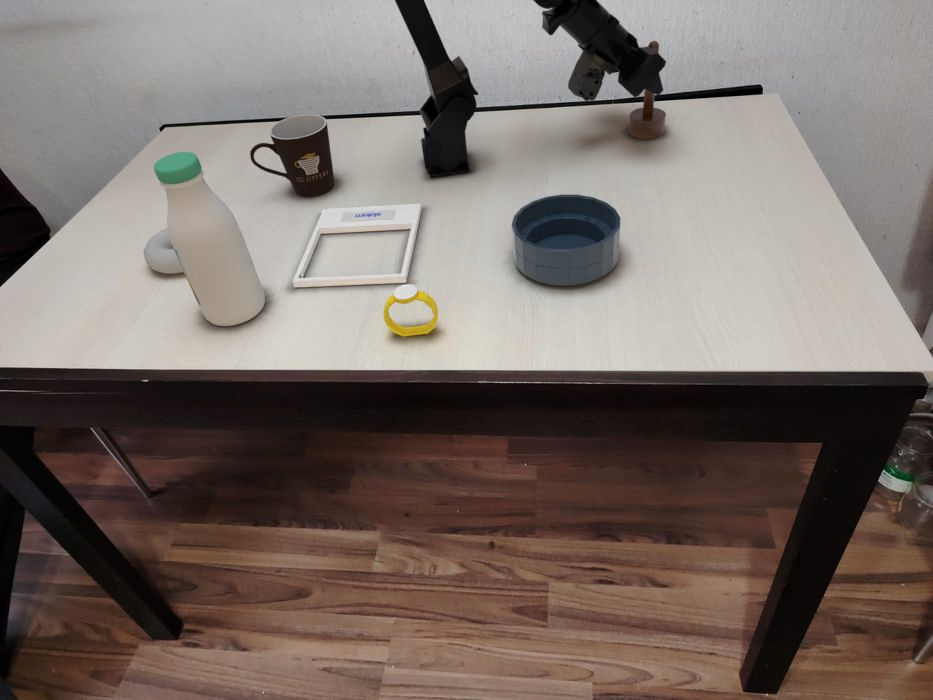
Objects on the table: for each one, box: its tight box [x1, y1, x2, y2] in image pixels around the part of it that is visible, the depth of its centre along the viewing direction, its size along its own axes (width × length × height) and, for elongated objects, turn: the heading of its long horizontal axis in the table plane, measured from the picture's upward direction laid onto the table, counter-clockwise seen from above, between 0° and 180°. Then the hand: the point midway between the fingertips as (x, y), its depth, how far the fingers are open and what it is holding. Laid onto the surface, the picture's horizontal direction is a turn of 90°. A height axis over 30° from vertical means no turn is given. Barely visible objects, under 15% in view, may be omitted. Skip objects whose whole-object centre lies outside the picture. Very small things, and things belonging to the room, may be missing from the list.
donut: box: [143, 227, 184, 275], centre depth 93 cm, size 10×3×10 cm
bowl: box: [511, 194, 621, 287], centre depth 83 cm, size 13×13×6 cm
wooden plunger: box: [628, 40, 667, 140], centre depth 105 cm, size 6×6×14 cm
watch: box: [383, 283, 439, 338], centre depth 75 cm, size 6×3×6 cm, turn 90°
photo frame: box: [291, 203, 423, 288], centre depth 91 cm, size 15×1×18 cm
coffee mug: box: [249, 114, 335, 198], centre depth 103 cm, size 12×9×10 cm
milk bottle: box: [153, 151, 266, 327], centre depth 77 cm, size 8×8×20 cm
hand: (655, 88), depth 106 cm, fingers open, 3 cm apart
